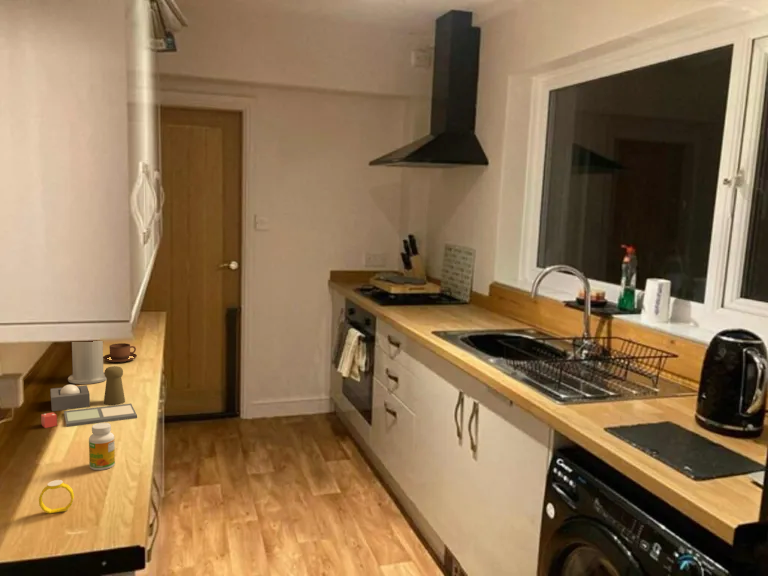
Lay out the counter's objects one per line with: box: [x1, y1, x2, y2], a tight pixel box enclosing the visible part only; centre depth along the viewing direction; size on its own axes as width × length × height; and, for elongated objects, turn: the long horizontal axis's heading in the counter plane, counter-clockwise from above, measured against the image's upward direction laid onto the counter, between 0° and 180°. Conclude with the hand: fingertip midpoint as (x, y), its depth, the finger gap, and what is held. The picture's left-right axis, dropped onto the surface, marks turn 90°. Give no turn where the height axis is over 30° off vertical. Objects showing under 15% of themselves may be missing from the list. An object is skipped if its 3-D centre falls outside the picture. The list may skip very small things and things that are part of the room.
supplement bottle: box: [88, 422, 116, 471], centre depth 147 cm, size 5×5×10 cm
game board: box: [63, 403, 138, 428], centre depth 182 cm, size 12×18×1 cm, turn 119°
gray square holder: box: [50, 384, 91, 412], centre depth 192 cm, size 10×10×4 cm
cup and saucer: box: [103, 342, 138, 363], centre depth 246 cm, size 12×12×6 cm
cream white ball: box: [60, 383, 80, 395], centre depth 191 cm, size 5×5×5 cm
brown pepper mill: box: [103, 365, 126, 406], centre depth 194 cm, size 6×6×11 cm
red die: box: [40, 411, 58, 429], centre depth 173 cm, size 3×3×3 cm
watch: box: [38, 479, 75, 515], centre depth 125 cm, size 6×3×6 cm, turn 109°
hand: (68, 338), depth 189 cm, fingers open, 9 cm apart
